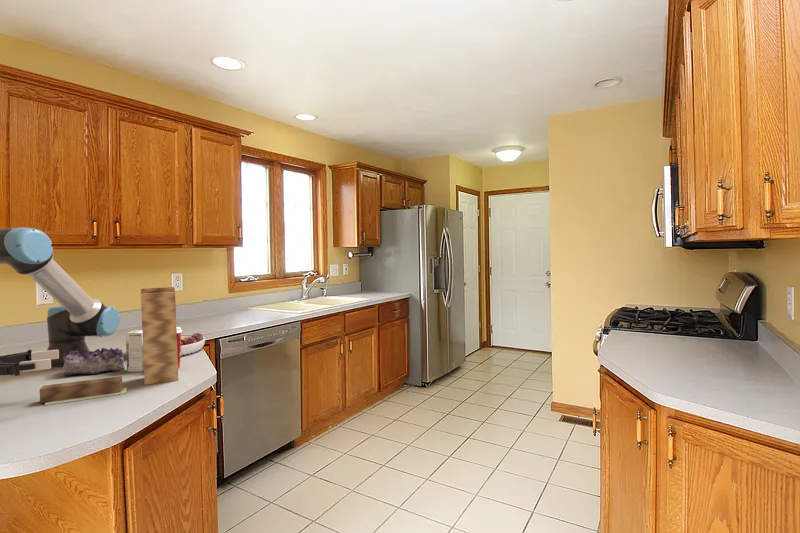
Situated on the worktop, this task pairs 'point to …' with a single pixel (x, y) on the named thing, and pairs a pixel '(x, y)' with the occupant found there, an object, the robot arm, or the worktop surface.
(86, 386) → the walnut bar
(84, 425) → the worktop surface
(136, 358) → the syrup box
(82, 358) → the geode
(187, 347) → the bowl
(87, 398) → the sage mat
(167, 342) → the oak pedestal
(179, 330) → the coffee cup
